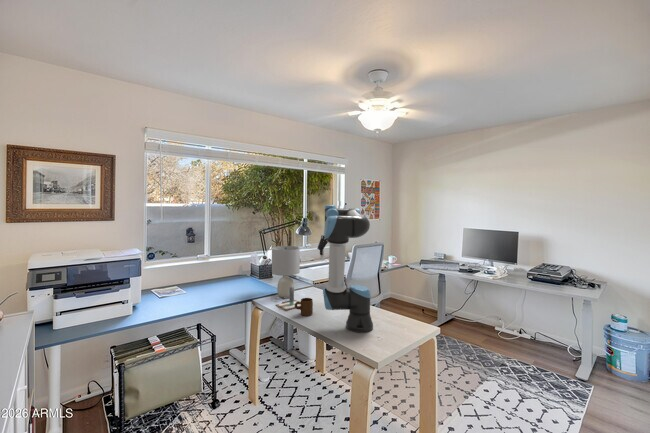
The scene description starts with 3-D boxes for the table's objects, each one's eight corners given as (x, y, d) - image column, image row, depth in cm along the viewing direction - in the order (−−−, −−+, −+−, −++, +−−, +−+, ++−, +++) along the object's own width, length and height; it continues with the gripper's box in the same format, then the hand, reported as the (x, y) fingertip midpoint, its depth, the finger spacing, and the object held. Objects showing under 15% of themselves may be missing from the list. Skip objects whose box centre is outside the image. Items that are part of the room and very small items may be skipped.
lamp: (301, 293, 241) (301, 245, 239) (296, 301, 221) (296, 249, 219) (276, 292, 243) (275, 244, 241) (268, 300, 223) (268, 249, 221)
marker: (292, 303, 214) (292, 286, 213) (294, 305, 211) (294, 287, 211) (288, 304, 212) (288, 287, 211) (291, 305, 210) (291, 288, 209)
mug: (297, 318, 190) (297, 303, 189) (292, 314, 196) (292, 299, 196) (314, 315, 196) (314, 300, 195) (309, 311, 202) (309, 296, 202)
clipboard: (306, 305, 213) (306, 303, 212) (285, 311, 202) (285, 308, 202) (295, 300, 223) (295, 298, 222) (275, 305, 212) (275, 303, 212)
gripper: (339, 226, 224) (339, 255, 225) (312, 228, 208) (312, 260, 209) (347, 227, 218) (346, 257, 219) (319, 229, 202) (319, 261, 203)
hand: (329, 258), depth 214 cm, fingers open, 13 cm apart
